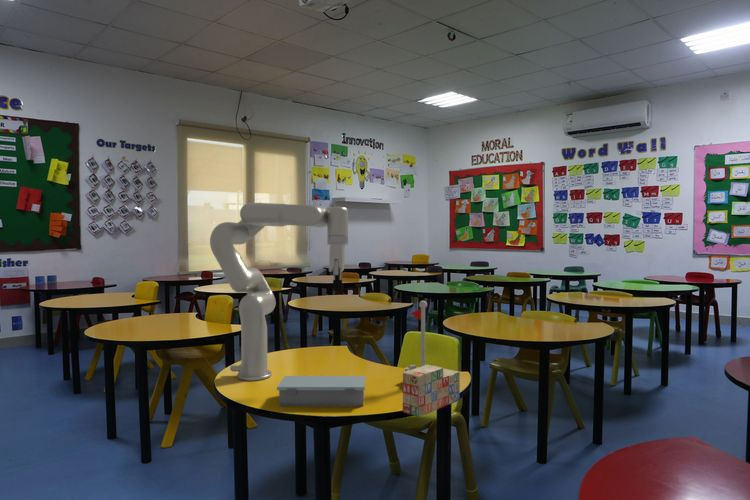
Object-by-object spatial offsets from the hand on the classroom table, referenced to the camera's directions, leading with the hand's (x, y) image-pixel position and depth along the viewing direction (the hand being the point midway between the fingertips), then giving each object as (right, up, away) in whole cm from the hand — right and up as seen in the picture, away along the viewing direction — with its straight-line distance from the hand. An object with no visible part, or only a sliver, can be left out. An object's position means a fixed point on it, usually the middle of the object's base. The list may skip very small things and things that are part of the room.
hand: (337, 290), depth 174 cm
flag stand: (+31, -33, -3) cm, 46 cm away
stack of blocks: (+32, -34, -26) cm, 53 cm away
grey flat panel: (-3, -29, -21) cm, 36 cm away
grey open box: (-3, -33, -21) cm, 39 cm away
